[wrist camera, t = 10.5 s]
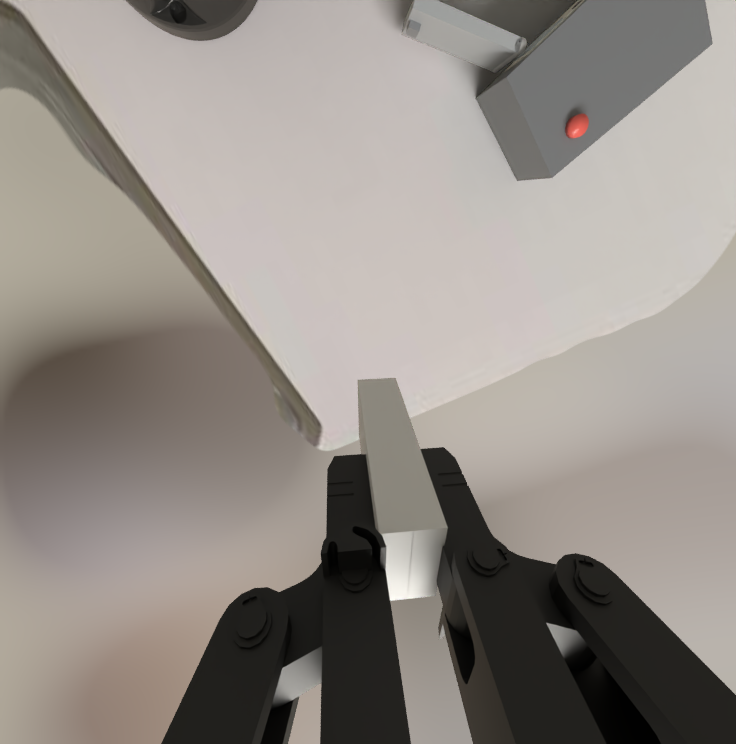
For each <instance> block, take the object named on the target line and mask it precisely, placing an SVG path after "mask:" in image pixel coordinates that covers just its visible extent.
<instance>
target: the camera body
mask: <svg viewBox="0 0 736 744" xmlns="http://www.w3.org/2000/svg"><path fill="white" fill-rule="evenodd" d="M712 44H713V43H712V37H711V31H710V26H709V20H708V14H707V9H706V3H705V0H577V1H576V2H575V3H574V4H573V5H572V6H571V7H570V8H569V9H568V10H567V11H566V12H565V13H564V14H563V15H562V16H560V17H559V18H558V19H557V20H556V21H555V22H554V23H553V24H552V25H551V26H550V27H549V28H548V29H547V30H546V31H544V32H543V33H542V34H541V35H540V36H539V37H538V38H537V39H536V40H535V41H534V42H533V43H532V44H531V45H530V46H529V47H528V48H527V49H525V51H524V52H523V53H522V54H520V55H519V56H518V57H517V58H516V59H515V61H514V62H513V63H512V64H511V65H510V66H509V67H508V68H507V69H506V70H505V71H504V72H502V73H501V74H500V75H499V76H498V77H497V78H496V79H495V80H494V81H493V82H492V83H491V84H490V85H489V86H488V87H487V88H486V89H485V90H484V91H483V92H482V93H481V94H480V95H479V96H478V97H477V98H476V99H477V101H478V103H479V105H480V107H481V109H482V111H483V113H484V115H485V117H486V119H487V121H488V123H489V125H490V127H491V129H492V131H493V133H494V135H495V137H496V139H497V141H498V143H499V145H500V147H501V149H502V151H503V153H504V155H505V157H506V159H507V161H508V163H509V165H510V167H511V169H512V171H513V173H514V175H515V177H516V179H517V181H520V180H532V179H544V178H552V177H554V176H555V175H556V174H557V173H558V172H560V171H561V170H562V169H563V168H564V167H566V166H567V165H568V164H569V163H570V162H571V161H573V160H574V159H575V158H576V157H577V156H579V155H580V154H581V153H582V152H583V151H585V150H586V149H587V148H588V147H589V146H591V145H592V144H593V143H594V142H595V141H597V140H598V139H599V138H600V137H601V136H603V135H604V134H605V133H606V132H607V131H609V130H610V129H611V128H612V127H613V126H615V125H616V124H617V123H618V122H619V121H621V120H622V119H623V118H624V117H625V116H627V115H628V114H629V113H630V112H631V111H633V110H634V109H635V108H636V107H637V106H639V105H640V104H641V103H642V102H643V101H645V100H646V99H647V98H648V97H649V96H651V95H652V94H653V93H654V92H655V91H657V90H658V89H659V88H660V87H661V86H662V85H664V84H665V83H666V82H667V81H668V80H670V79H671V78H672V77H673V76H674V75H676V74H677V73H678V72H679V71H680V70H682V69H683V68H684V67H685V66H686V65H688V64H689V63H690V62H691V61H692V60H694V59H695V58H696V57H697V56H698V55H700V54H701V53H702V52H703V51H704V50H706V49H707V48H708V47H709V46H710V45H712Z"/></svg>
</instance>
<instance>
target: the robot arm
mask: <svg viewBox="0 0 736 744" xmlns="http://www.w3.org/2000/svg"><path fill="white" fill-rule="evenodd" d="M126 1H127V2H128V3H129V4H130V5H131V6H132V7H133V8H134V9H135V10H136V11H138V12H139V13H140V14H141V15H142V16H143V17H145V18H146V19H147V20H148V21H150V22H151V23H153V24H154V25H155V26H157V27H159V28H160V29H162V30H164V31H166V32H168V33H170V34H172V35H175V36H178V37H181V38H184V39H189V40H198V41H204V40H212V39H216V38H220V37H222V36H225V35H227V34H229V33H230V32H232V31H233V30H235V29H236V28H237V27H239V26H240V25H241V24H242V23H243V22H244V21H245V19H246V18H247V17H248V16H249V14H250V13H251V11H252V10H253V8H254V6H255V4H256V2H257V0H126ZM358 412H359V439H360V446H361V454H360V455H345V456H334V458H333V460H332V462H331V464H330V466H329V467H328V476H327V480H328V481H327V482H328V483H327V536H326V539H325V540H324V542H323V546H322V550H321V560H322V563H321V564H320V565H319V567H318V568H317V570H316V571H315V572H314V573H313V574H312V575H311V576H310V577H308V578H307V579H305V580H304V581H302V582H300V583H298V584H296V585H294V586H292V587H290V588H287V589H285V590H283V591H281V592H277V591H275V590H272V589H270V588H267V587H266V588H254V589H252V590H250V591H247V592H245V593H243V594H241V595H240V596H239V597H238V598H237V599H235V600H234V601H233V602H232V603H231V604H230V605H229V606H228V608H227V609H226V611H225V612H224V614H223V616H222V617H221V618H220V620H219V622H218V625H217V627H216V629H215V631H214V633H213V635H212V637H211V639H210V642H209V644H208V646H207V648H206V650H205V652H204V655H203V657H202V658H201V661H200V663H199V665H198V667H197V669H196V671H195V673H194V675H193V678H192V680H191V682H190V684H189V686H188V688H187V690H186V693H185V695H184V697H183V699H182V701H181V703H180V705H179V708H178V710H177V712H176V714H175V716H174V718H173V720H172V722H171V724H170V726H169V729H168V731H167V733H166V735H165V737H164V739H163V741H162V743H161V744H288V741H289V737H290V733H291V729H292V724H293V720H294V716H295V712H296V708H297V704H298V699H299V696H300V695H302V694H303V693H305V692H307V691H308V690H310V689H312V688H313V687H315V686H317V685H318V684H320V683H322V688H321V737H320V744H411V741H410V734H409V728H408V721H407V714H406V707H405V700H404V693H403V686H402V680H401V673H400V666H399V659H398V653H397V646H396V638H395V632H394V624H393V618H392V611H391V604H390V601H392V600H401V599H410V598H419V597H428V596H435V595H436V590H437V585H438V588H439V592H440V596H441V600H442V603H443V608H442V612H441V618H440V622H439V627H438V628H439V638H440V639H442V638H444V634H445V635H446V639H447V643H448V647H449V651H450V655H451V658H452V663H453V666H454V670H455V674H456V678H457V682H458V686H459V690H460V694H461V698H462V702H463V705H464V709H465V713H466V717H467V721H468V725H469V729H470V733H471V737H472V741H473V744H736V695H735V694H734V693H733V692H732V691H731V690H730V689H729V688H728V687H727V686H726V685H725V684H724V683H723V682H722V681H721V680H720V679H719V678H718V677H717V676H716V675H715V674H714V673H713V672H712V671H711V670H710V669H709V668H708V667H707V666H706V665H705V664H704V663H703V662H702V661H701V660H700V659H699V658H698V657H697V656H696V655H695V654H694V653H693V652H692V651H691V650H690V649H689V648H688V647H687V646H686V645H685V644H684V643H683V642H682V641H681V640H680V638H679V637H677V635H676V634H675V633H673V631H671V630H670V628H669V627H667V625H666V624H665V623H664V622H663V621H661V619H660V618H659V617H658V616H657V615H656V614H655V613H654V612H653V611H652V610H651V609H650V608H649V607H648V606H646V604H645V603H644V602H643V601H642V600H641V599H640V598H639V597H638V596H637V595H636V594H635V593H634V592H633V591H632V590H631V589H630V588H629V587H628V586H627V585H626V584H625V583H624V582H623V581H622V580H621V579H620V578H619V577H618V576H617V575H616V574H615V573H613V572H612V571H611V570H610V569H609V568H607V567H606V566H605V565H604V564H603V563H600V562H599V561H596V560H595V559H593V558H591V557H589V556H585V555H580V554H576V553H575V554H569V555H565V556H563V557H562V558H561V559H560V560H559V561H558V562H557V564H551V563H546V562H543V561H538V560H534V559H529V558H525V557H522V556H519V555H517V554H515V553H513V552H511V551H509V550H508V549H507V548H506V547H505V546H504V545H503V544H502V543H501V542H499V541H498V540H497V539H496V538H494V537H493V535H492V534H491V532H490V530H489V529H488V527H487V525H486V522H485V521H484V518H483V516H482V514H481V512H480V510H479V507H478V505H477V503H476V501H475V499H474V497H473V495H472V493H471V491H470V488H469V486H467V482H466V480H465V478H464V476H463V474H462V471H461V469H460V467H459V465H458V463H457V461H456V459H455V457H453V456H452V455H451V454H450V453H449V452H448V451H447V450H446V449H445V448H443V447H442V448H428V449H420V447H419V444H418V441H417V438H416V435H415V433H414V430H413V427H412V424H411V421H410V418H409V415H408V412H407V409H406V407H405V404H404V401H403V398H402V395H401V392H400V389H399V387H398V384H397V381H396V378H385V379H366V380H358Z"/></svg>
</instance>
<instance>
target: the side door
mask: <svg viewBox="0 0 736 744" xmlns="http://www.w3.org/2000/svg"><path fill="white" fill-rule="evenodd" d="M402 35H403V36H406V37H408V38H411V39H413V40H416V41H418V42H421V43H423V44H426V45H428V46H431V47H433V48H435V49H438V50H440V51H443V52H445V53H448V54H450V55H453V56H455V57H458V58H460V59H463V60H465V61H467V62H470V63H472V64H475V65H477V66H480V67H482V68H485V69H487V70H490V71H492V72H493V73H496V72H498V71H499V70H501V69H502V68H503V67H505V66H506V65H507V64H509V63H510V62H511V61H513V60H514V59H515V58H516V57H518V56H519V55H520V54H522V53H523V52H524V51H525V49H526V47H527V41H526V39H525V38H524V37H520V36H518V35H515V34H513V33H511V32H508V31H506V30H504V29H502V28H499V27H497V26H495V25H493V24H490V23H488V22H486V21H483V20H481V19H479V18H477V17H474V16H472V15H470V14H468V13H465V12H463V11H461V10H458V9H456V8H454V7H452V6H449V5H447V4H445V3H443V2H440V1H438V0H413V1H412V4H411V6H410V9H409V11H408V13H407V16H406V18H405V21H404V25H403V30H402Z"/></svg>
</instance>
